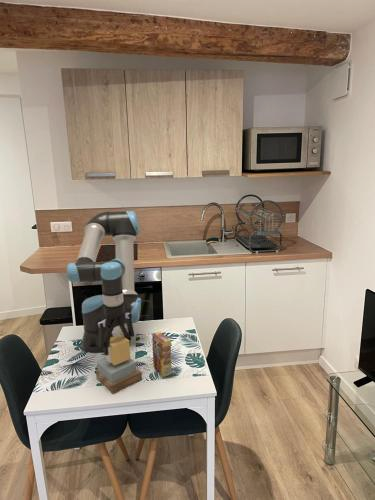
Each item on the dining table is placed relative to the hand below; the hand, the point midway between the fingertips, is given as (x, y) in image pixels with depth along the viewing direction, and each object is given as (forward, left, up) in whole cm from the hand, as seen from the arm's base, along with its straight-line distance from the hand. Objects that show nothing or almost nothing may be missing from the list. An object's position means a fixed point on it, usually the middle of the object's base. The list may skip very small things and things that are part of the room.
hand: (118, 357), depth 139 cm
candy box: (+7, +16, -9) cm, 20 cm away
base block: (0, 0, -10) cm, 10 cm away
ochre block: (0, 0, 0) cm, 0 cm away
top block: (0, -1, -6) cm, 6 cm away
